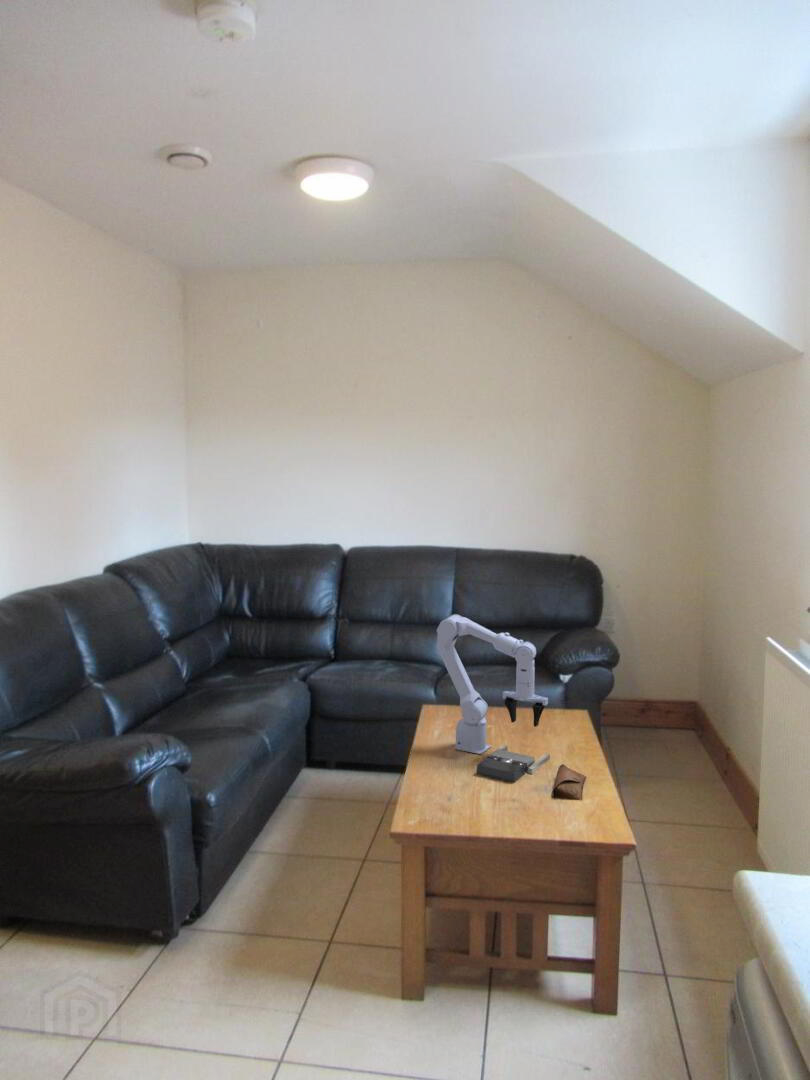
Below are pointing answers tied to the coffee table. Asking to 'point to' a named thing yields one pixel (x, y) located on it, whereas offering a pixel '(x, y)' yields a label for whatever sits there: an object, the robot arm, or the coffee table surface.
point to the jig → (535, 765)
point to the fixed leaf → (501, 769)
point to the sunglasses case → (568, 784)
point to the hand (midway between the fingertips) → (524, 723)
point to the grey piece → (514, 757)
